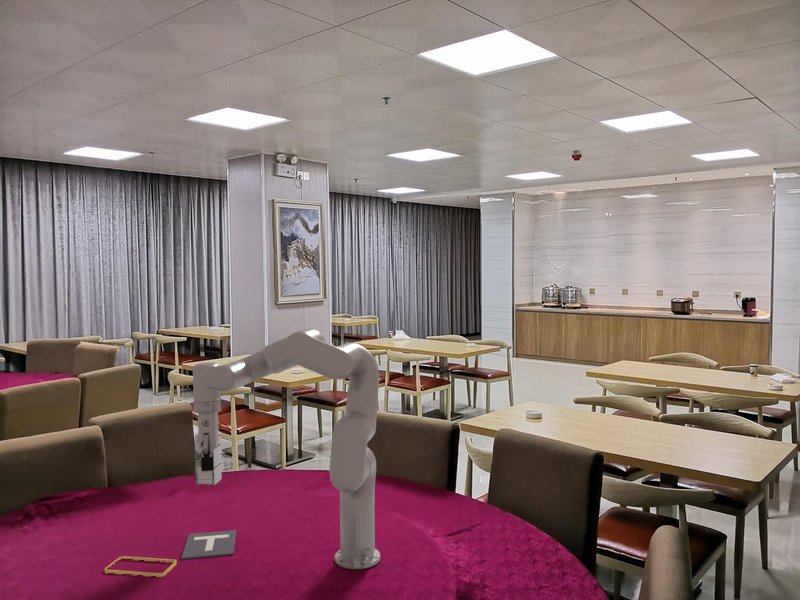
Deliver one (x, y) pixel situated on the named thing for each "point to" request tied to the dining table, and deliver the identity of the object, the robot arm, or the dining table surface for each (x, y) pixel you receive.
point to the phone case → (142, 572)
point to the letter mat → (209, 544)
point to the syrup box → (215, 474)
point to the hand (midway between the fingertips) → (208, 466)
